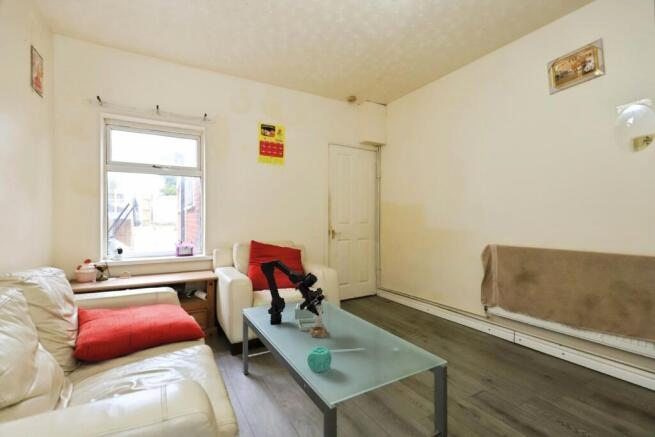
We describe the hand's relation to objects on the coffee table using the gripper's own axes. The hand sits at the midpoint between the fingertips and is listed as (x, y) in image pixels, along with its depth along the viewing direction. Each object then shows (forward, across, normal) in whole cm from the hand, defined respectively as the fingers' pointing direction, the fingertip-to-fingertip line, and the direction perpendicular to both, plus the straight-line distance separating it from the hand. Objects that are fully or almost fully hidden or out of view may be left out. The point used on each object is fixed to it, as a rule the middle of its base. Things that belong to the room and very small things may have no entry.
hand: (320, 314), depth 165 cm
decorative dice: (+22, -29, -5) cm, 37 cm away
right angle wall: (-10, +21, +28) cm, 36 cm away
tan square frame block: (+8, 0, +10) cm, 12 cm away
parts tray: (0, +7, +18) cm, 19 cm away
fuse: (+3, 0, +5) cm, 6 cm away
